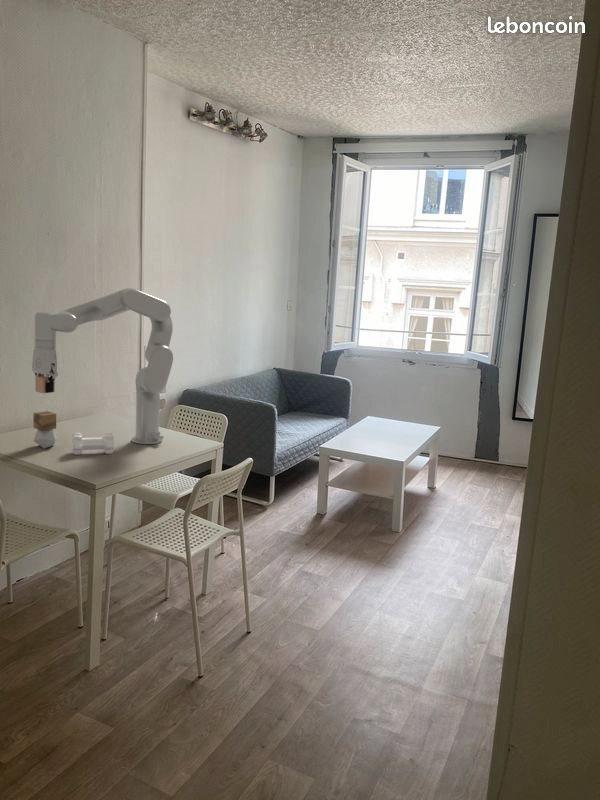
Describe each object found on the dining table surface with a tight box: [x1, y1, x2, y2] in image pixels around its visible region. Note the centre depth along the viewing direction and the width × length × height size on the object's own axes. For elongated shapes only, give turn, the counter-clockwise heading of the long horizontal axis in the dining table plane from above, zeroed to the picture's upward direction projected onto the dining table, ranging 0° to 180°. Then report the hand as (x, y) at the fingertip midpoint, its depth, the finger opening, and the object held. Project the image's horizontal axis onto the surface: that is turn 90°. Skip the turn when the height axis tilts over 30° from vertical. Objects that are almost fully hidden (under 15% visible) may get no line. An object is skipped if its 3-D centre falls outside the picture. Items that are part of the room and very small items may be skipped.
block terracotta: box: [34, 375, 56, 394], centre depth 243 cm, size 5×5×6 cm
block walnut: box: [32, 410, 57, 431], centre depth 245 cm, size 6×6×6 cm
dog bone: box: [72, 431, 115, 456], centre depth 243 cm, size 15×9×8 cm, turn 111°
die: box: [32, 429, 59, 449], centre depth 247 cm, size 8×9×10 cm
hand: (45, 390), depth 244 cm, fingers closed on block terracotta, 5 cm apart
